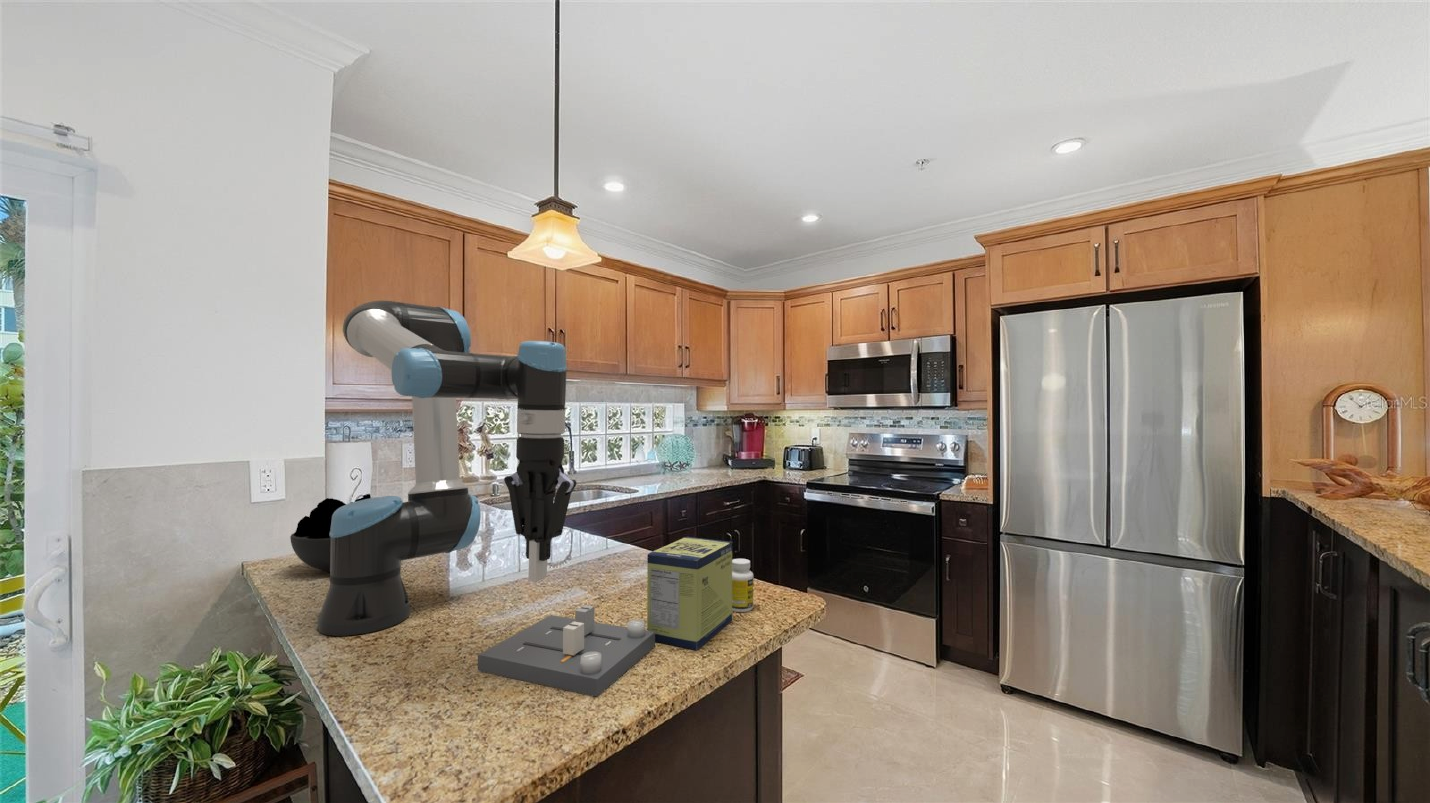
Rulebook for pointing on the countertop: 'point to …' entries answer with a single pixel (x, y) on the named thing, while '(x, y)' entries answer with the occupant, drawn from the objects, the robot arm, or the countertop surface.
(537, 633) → the console
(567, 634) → the fader cream
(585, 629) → the fader grey
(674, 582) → the protein box
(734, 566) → the supplement bottle
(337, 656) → the countertop surface
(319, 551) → the coal bowl
